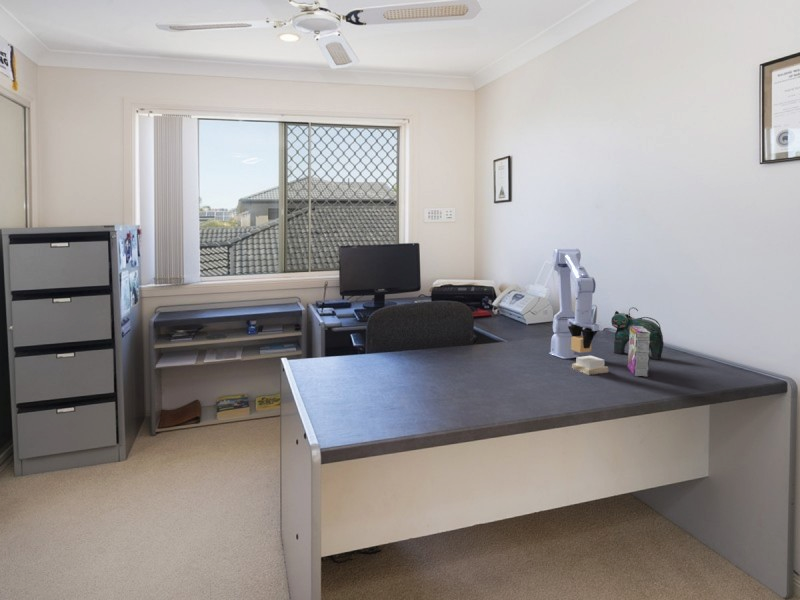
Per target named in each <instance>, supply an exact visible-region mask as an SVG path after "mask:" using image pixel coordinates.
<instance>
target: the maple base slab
mask: <svg viewBox="0 0 800 600" xmlns="http://www.w3.org/2000/svg"><path fill="white" fill-rule="evenodd" d="M572 368H573V369H572ZM571 369H572V370H574V369H575V371H577V370H578V371H577V372H580V373H582V372H583V373H582V374H585V375H588V376H591V374H592V375H597V374H598V373H599V374H605V373H606V374H607V373H609V367H608V366H606V365H604V367H598V368H591V369H589V368H586V367H583V366H580V365H578V364H576V362H575V363H572V364H571Z"/></svg>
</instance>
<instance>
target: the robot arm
mask: <svg viewBox="0 0 800 600" xmlns="http://www.w3.org/2000/svg"><path fill="white" fill-rule="evenodd" d="M581 258H582V257H581V250H580V249H579V248H555V249H554V250H553V254H552V266H553V270H554V271H556V272H557V279H558V297H559V298H558V300H559V301H558V302H559V311H558V312H557V313H555V314H554V316H553V318H552V331H553V333H554V334H552V336H551V340H550V352H548V354H549V355H551V356H555V357H558V358H560V359H563V360H565V359H566V360H567V359H574V358H576V357H580V356H579V355H577V354H575V351H573V350H571V338H572V337H573V336H583V345H584V348H590V345H591V346H592V342H593V339H594V337H595V335H596V334H597V333H598V331H599V330H600V329H599V328H600V325H599V324H596V323H594V322H592V313H593V312H592V311H593V310H592V307H593V294H594V293H595V292H596V289H597V288H596V286H597V284H596V283H597V282H596V279H595V278H594V277H593V276H589V274H588V272H587V270H586V268H585V267H584V266H582V265H581V263H580V262H581ZM571 280H572V281H573V291H574V298H575V305H574V306H575V307H574V309H575V310H574V311H573V306H572V305H573V303H572V287H571V286H572V283H571V282H572V281H571Z"/></svg>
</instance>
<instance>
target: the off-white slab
mask: <svg viewBox="0 0 800 600" xmlns="http://www.w3.org/2000/svg"><path fill="white" fill-rule="evenodd" d="M575 363H576V364H578V365H580V366H583V367H586V368H589V369H591V368H598V367H604V366H605V359H603V358H600V357H596V356H594V355H585V356H579V357H576V359H575Z"/></svg>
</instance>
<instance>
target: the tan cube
mask: <svg viewBox="0 0 800 600" xmlns="http://www.w3.org/2000/svg"><path fill="white" fill-rule="evenodd" d="M571 350H573V351H574V352H576V353H580V354H581V353H591V352H592V344H591V345H590V348H584V345H583V335H581V336H573V337H572V338H571Z"/></svg>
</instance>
